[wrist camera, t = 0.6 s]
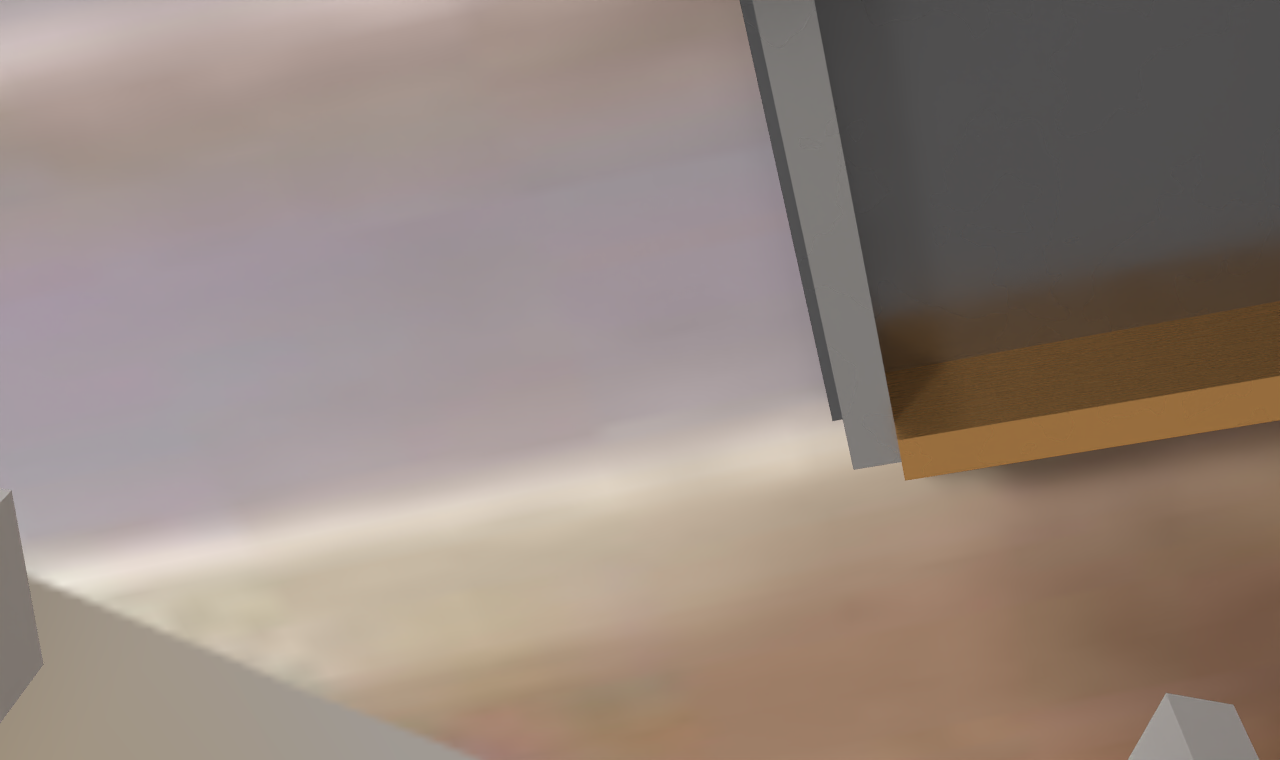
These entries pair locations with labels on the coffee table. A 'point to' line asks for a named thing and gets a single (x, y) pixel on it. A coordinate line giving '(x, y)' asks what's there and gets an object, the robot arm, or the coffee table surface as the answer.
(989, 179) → the grey piece
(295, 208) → the coffee table surface
